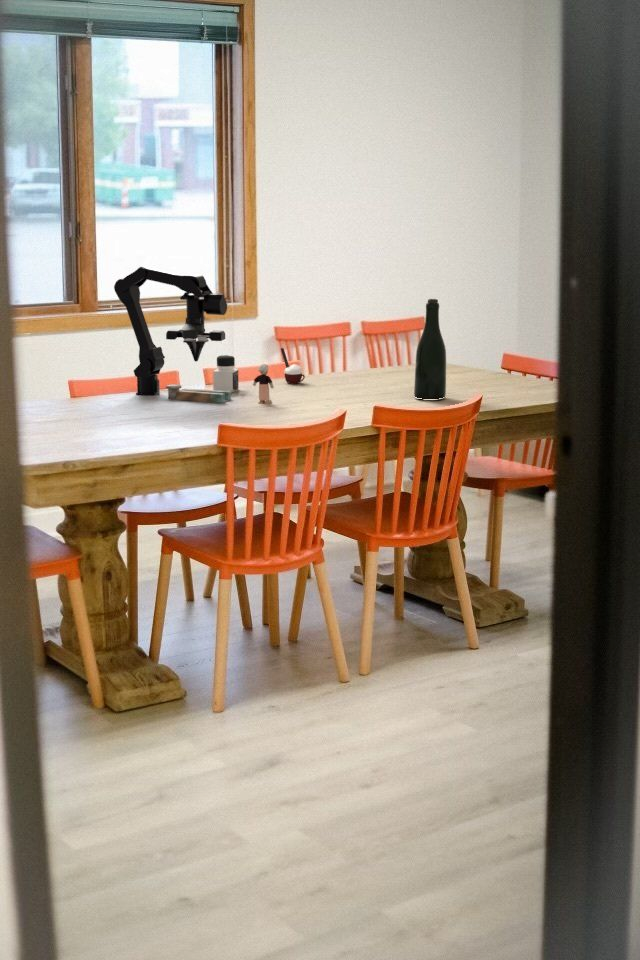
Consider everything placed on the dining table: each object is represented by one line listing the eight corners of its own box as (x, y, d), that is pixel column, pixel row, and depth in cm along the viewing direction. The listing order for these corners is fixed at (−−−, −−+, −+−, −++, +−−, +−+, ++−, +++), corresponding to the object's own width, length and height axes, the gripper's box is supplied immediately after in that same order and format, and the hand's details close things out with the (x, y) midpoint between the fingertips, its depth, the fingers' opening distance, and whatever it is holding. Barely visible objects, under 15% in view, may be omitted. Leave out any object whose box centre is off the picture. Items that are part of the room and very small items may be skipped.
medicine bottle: (233, 392, 415) (232, 357, 412) (213, 391, 416) (212, 356, 414) (238, 389, 422) (238, 354, 419) (218, 388, 423) (218, 354, 420)
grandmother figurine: (276, 402, 397) (276, 363, 394) (272, 404, 394) (272, 365, 391) (254, 401, 400) (254, 362, 397) (250, 403, 396) (250, 364, 393)
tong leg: (176, 399, 401) (176, 391, 400) (179, 398, 403) (179, 390, 402) (221, 403, 395) (221, 394, 394) (225, 402, 397) (224, 393, 396)
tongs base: (163, 398, 403) (163, 386, 402) (170, 395, 408) (169, 384, 407) (225, 402, 397) (225, 390, 396) (231, 399, 402) (230, 387, 401)
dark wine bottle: (451, 398, 407) (455, 299, 399) (432, 402, 399) (435, 301, 392) (427, 394, 414) (430, 296, 406) (407, 398, 406) (410, 298, 398)
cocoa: (306, 385, 434) (309, 351, 431) (292, 386, 430) (294, 352, 427) (291, 380, 441) (293, 347, 438) (277, 381, 438) (279, 348, 435)
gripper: (160, 315, 393) (161, 363, 397) (216, 317, 390) (217, 365, 394) (170, 312, 404) (171, 359, 408) (225, 313, 401) (226, 360, 404)
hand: (196, 361), depth 403 cm, fingers closed
